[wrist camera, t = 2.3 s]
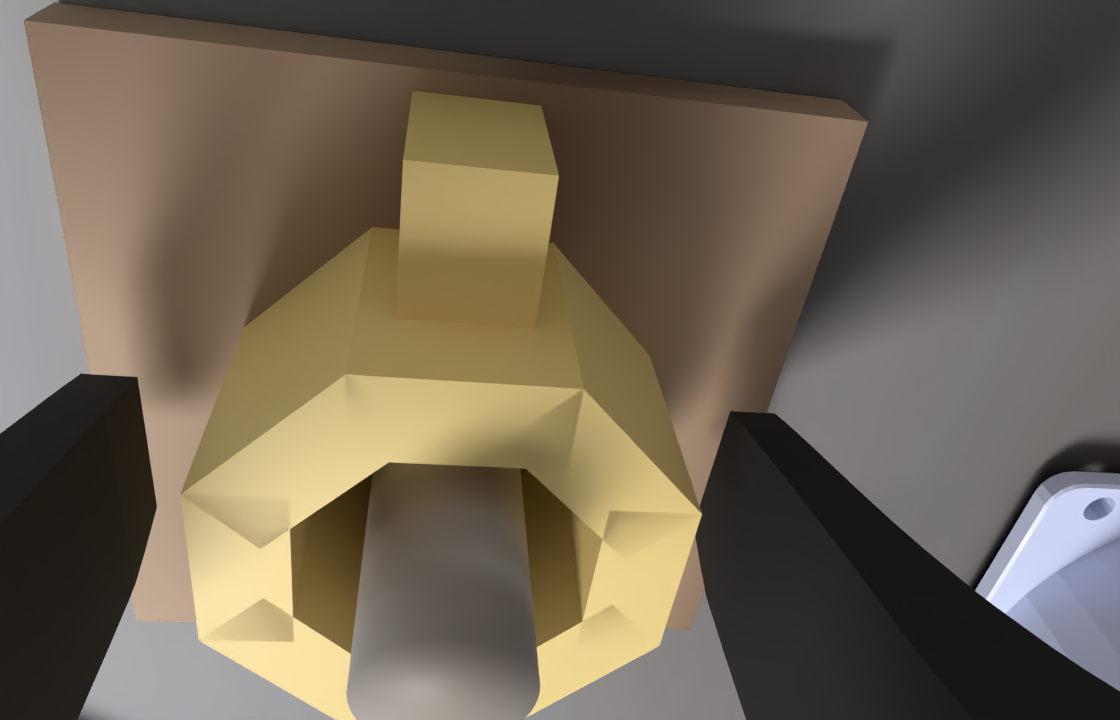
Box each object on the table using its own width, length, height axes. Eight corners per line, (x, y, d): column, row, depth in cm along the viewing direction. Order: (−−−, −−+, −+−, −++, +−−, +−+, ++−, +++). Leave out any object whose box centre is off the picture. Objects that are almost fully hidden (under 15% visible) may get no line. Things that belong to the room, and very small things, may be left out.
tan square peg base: (843, 100, 11) (1101, 322, 6) (680, 593, 16) (765, 905, 11) (55, 2, 9) (-298, 204, 5) (151, 581, 14) (17, 935, 10)
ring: (705, 124, 10) (791, 243, 7) (601, 548, 14) (634, 722, 11) (227, 69, 9) (140, 183, 6) (257, 538, 13) (209, 723, 10)
